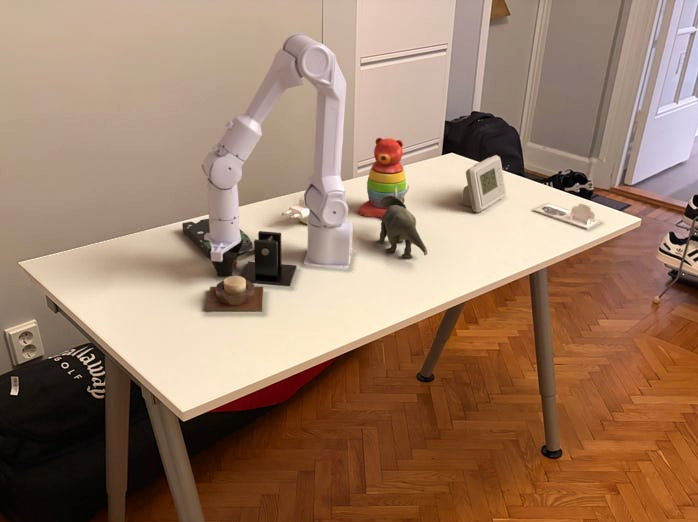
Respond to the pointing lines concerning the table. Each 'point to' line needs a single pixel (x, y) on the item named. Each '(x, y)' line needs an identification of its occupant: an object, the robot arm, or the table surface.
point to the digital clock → (484, 184)
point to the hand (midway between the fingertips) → (227, 278)
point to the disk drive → (202, 227)
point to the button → (234, 284)
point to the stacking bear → (384, 176)
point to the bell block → (235, 299)
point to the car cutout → (571, 215)
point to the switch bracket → (268, 262)
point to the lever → (248, 252)
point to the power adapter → (299, 211)
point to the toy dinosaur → (399, 225)
